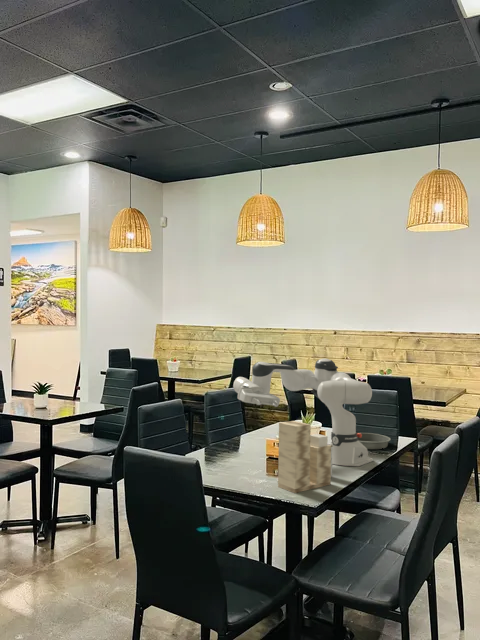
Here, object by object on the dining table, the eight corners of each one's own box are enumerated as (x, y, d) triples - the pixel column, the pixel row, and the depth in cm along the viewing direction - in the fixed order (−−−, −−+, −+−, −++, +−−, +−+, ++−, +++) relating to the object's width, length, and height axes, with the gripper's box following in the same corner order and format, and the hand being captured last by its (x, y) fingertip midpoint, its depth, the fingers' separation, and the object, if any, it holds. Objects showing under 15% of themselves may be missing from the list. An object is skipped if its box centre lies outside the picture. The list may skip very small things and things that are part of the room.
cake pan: (382, 452, 293) (382, 443, 293) (337, 446, 306) (337, 438, 306) (396, 444, 314) (396, 435, 314) (353, 438, 327) (353, 430, 327)
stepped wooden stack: (313, 478, 241) (314, 418, 241) (330, 484, 233) (331, 421, 233) (278, 486, 229) (279, 422, 229) (294, 493, 221) (295, 426, 221)
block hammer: (294, 437, 249) (294, 428, 249) (327, 445, 233) (327, 436, 233) (285, 438, 246) (286, 429, 246) (318, 447, 230) (318, 437, 230)
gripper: (269, 401, 279) (284, 412, 267) (234, 398, 269) (248, 409, 257) (272, 389, 278) (288, 399, 267) (237, 385, 268) (252, 396, 256)
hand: (268, 404), depth 262 cm, fingers open, 8 cm apart
